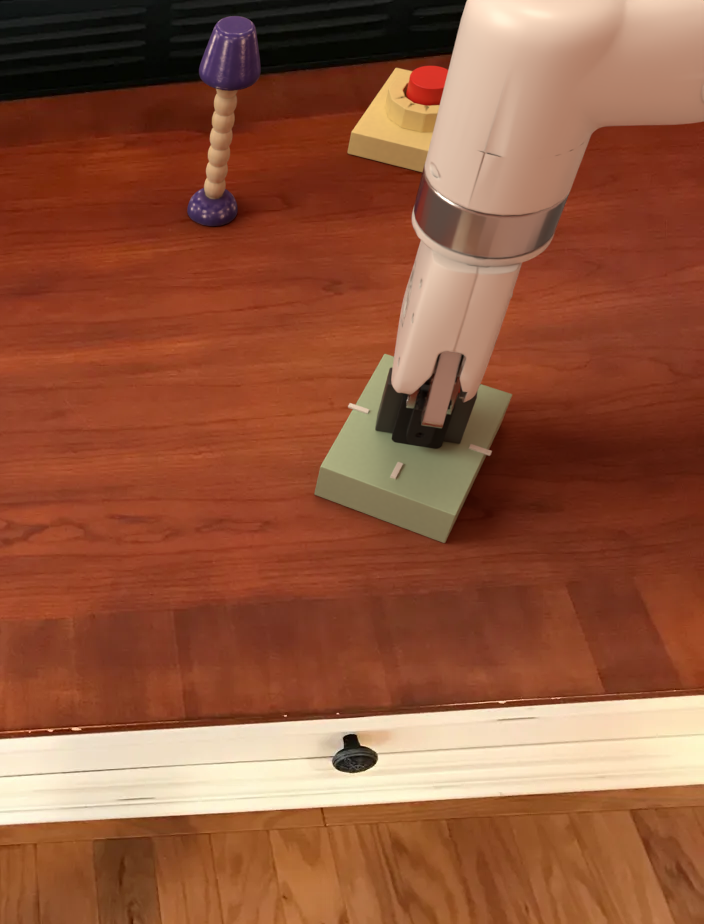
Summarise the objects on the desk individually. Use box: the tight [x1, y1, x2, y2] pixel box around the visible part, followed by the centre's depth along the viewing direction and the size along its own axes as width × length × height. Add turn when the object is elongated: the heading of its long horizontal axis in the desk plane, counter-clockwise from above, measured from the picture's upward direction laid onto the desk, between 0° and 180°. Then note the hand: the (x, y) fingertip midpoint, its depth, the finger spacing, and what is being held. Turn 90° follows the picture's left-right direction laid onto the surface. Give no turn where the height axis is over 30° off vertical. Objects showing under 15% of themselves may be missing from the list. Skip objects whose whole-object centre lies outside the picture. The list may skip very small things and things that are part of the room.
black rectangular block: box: [375, 368, 478, 444], centre depth 75 cm, size 6×2×5 cm, turn 72°
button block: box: [347, 67, 440, 173], centre depth 100 cm, size 11×9×4 cm
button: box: [406, 65, 448, 106], centre depth 98 cm, size 4×4×2 cm
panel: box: [314, 353, 513, 544], centre depth 78 cm, size 12×10×3 cm
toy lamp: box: [186, 15, 262, 227], centre depth 91 cm, size 5×5×17 cm
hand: (417, 428), depth 77 cm, fingers closed, pressing on black rectangular block
